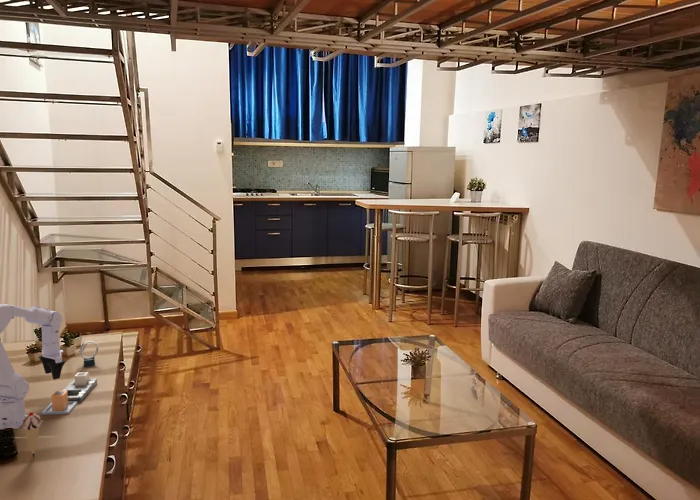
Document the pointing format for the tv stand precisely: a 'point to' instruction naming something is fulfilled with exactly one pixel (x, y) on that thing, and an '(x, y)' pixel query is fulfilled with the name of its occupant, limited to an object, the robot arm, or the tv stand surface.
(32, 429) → the ice cream cone
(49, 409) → the tray
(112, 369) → the tv stand surface
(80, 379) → the beige box
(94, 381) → the grey rectangular holder
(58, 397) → the plug
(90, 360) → the watch
